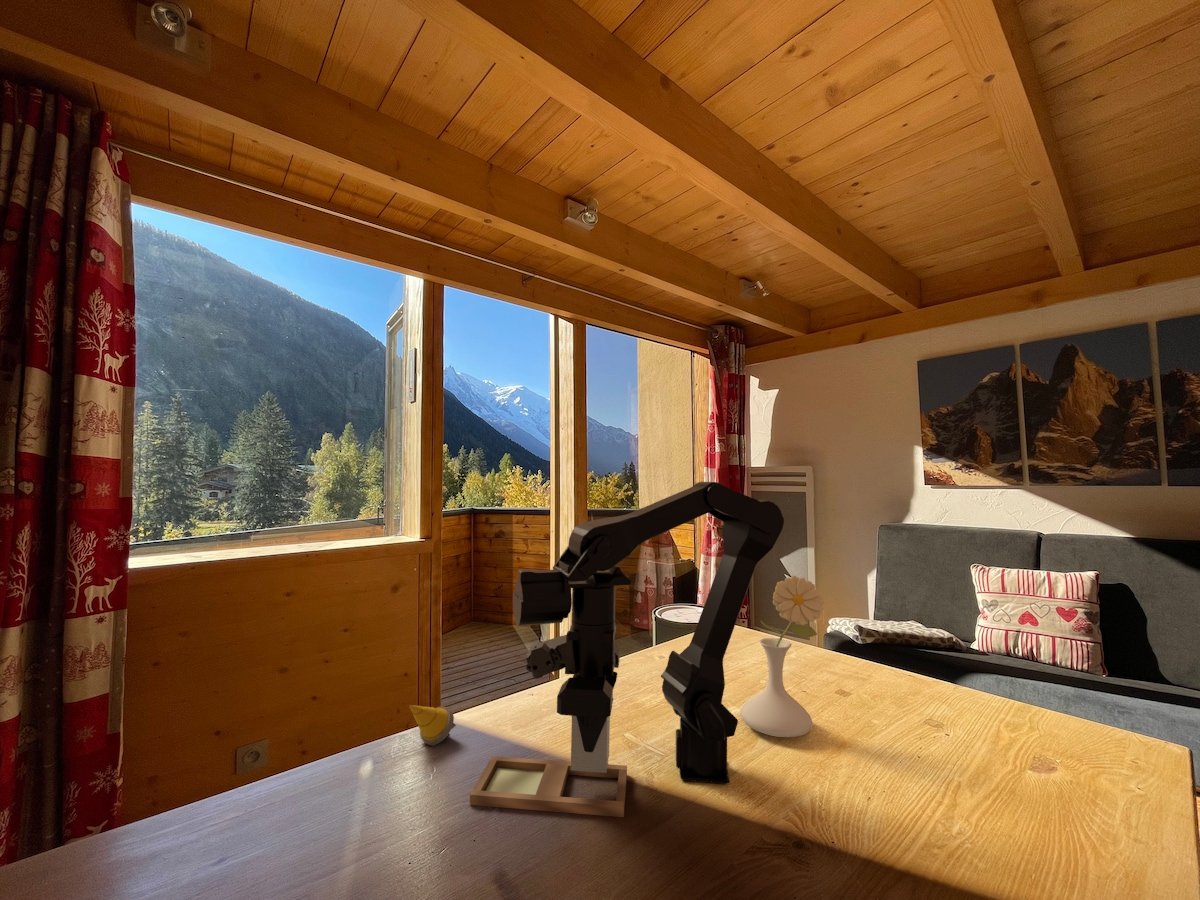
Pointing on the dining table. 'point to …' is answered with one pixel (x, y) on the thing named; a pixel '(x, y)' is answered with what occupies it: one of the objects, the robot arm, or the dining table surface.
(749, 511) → the robot arm
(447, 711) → the yellow and grey cone
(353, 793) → the dining table surface
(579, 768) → the grey tall block
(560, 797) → the wooden double frame
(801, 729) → the flower in vase
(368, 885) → the dining table surface
